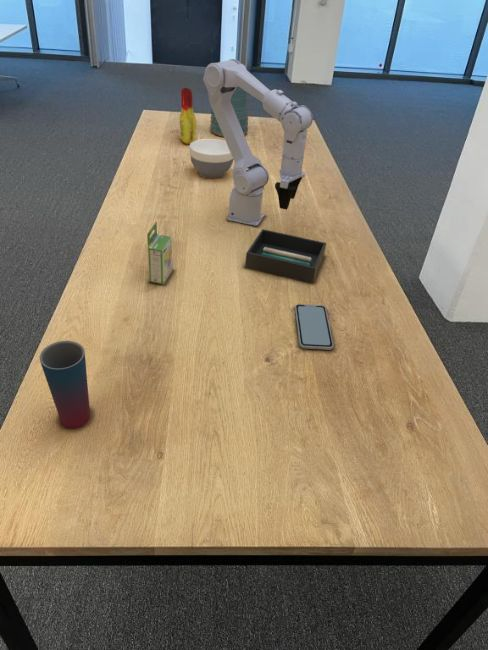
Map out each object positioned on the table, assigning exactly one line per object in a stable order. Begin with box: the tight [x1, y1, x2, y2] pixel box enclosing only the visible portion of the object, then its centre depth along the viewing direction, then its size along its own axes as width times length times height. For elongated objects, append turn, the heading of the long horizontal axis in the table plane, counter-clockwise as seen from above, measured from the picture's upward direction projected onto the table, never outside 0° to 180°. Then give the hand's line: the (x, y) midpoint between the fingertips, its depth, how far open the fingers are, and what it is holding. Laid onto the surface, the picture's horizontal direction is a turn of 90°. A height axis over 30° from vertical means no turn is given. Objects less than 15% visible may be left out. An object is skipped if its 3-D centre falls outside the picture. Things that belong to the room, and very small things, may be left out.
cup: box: [39, 340, 91, 429], centre depth 84 cm, size 7×7×15 cm
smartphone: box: [294, 303, 334, 351], centre depth 113 cm, size 7×1×15 cm
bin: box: [244, 228, 327, 284], centre depth 134 cm, size 18×14×4 cm
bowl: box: [188, 138, 234, 179], centre depth 177 cm, size 16×16×10 cm
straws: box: [262, 247, 312, 266], centre depth 134 cm, size 13×3×3 cm, turn 72°
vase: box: [209, 62, 249, 138], centre depth 208 cm, size 16×16×27 cm
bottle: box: [179, 87, 197, 145], centre depth 198 cm, size 12×6×20 cm, turn 10°
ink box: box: [146, 221, 174, 286], centre depth 121 cm, size 7×4×13 cm, turn 168°
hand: (287, 203), depth 142 cm, fingers open, 7 cm apart
